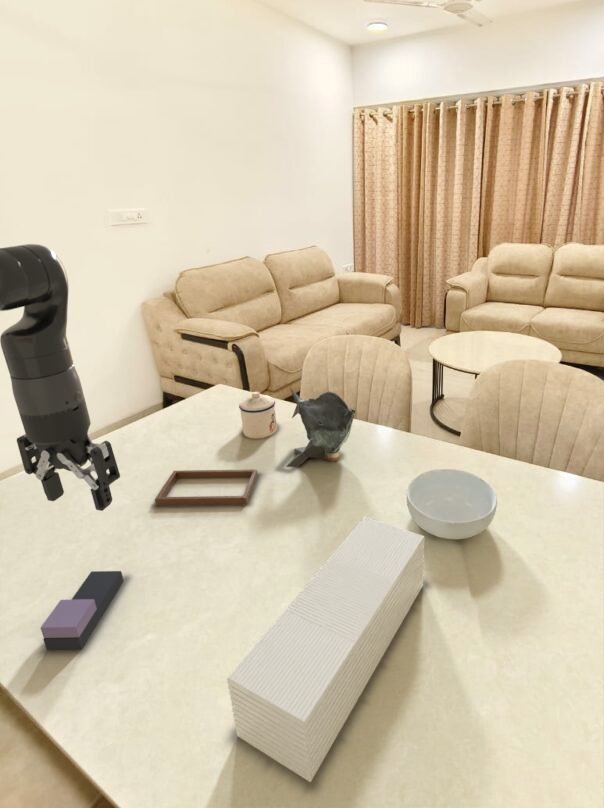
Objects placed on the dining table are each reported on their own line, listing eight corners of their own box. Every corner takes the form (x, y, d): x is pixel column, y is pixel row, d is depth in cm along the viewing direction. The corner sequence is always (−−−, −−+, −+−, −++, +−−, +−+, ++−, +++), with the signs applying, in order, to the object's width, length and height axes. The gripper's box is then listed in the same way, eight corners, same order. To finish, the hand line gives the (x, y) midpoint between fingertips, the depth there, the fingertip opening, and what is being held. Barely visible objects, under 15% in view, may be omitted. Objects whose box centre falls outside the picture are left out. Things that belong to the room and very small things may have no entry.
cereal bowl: (392, 537, 93) (392, 506, 91) (423, 489, 107) (423, 461, 105) (482, 564, 87) (485, 531, 84) (502, 509, 101) (505, 479, 98)
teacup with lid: (278, 439, 129) (274, 398, 125) (242, 443, 127) (237, 402, 123) (276, 418, 140) (272, 380, 135) (243, 422, 138) (238, 383, 133)
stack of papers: (310, 787, 56) (304, 722, 52) (237, 740, 60) (226, 677, 56) (423, 589, 82) (424, 536, 78) (366, 567, 86) (364, 516, 82)
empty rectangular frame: (156, 509, 102) (154, 499, 101) (175, 480, 112) (173, 470, 111) (247, 508, 102) (246, 497, 101) (258, 478, 112) (257, 469, 111)
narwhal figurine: (341, 483, 110) (337, 410, 103) (278, 472, 114) (271, 401, 108) (362, 451, 122) (360, 384, 116) (305, 442, 127) (300, 377, 120)
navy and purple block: (48, 654, 72) (39, 629, 70) (95, 585, 84) (88, 561, 82) (83, 654, 72) (74, 628, 70) (124, 584, 84) (118, 561, 82)
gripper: (-17, 407, 65) (18, 510, 71) (71, 419, 61) (100, 527, 67) (34, 384, 71) (62, 481, 77) (116, 394, 68) (139, 494, 74)
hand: (80, 502), depth 72 cm, fingers open, 8 cm apart
